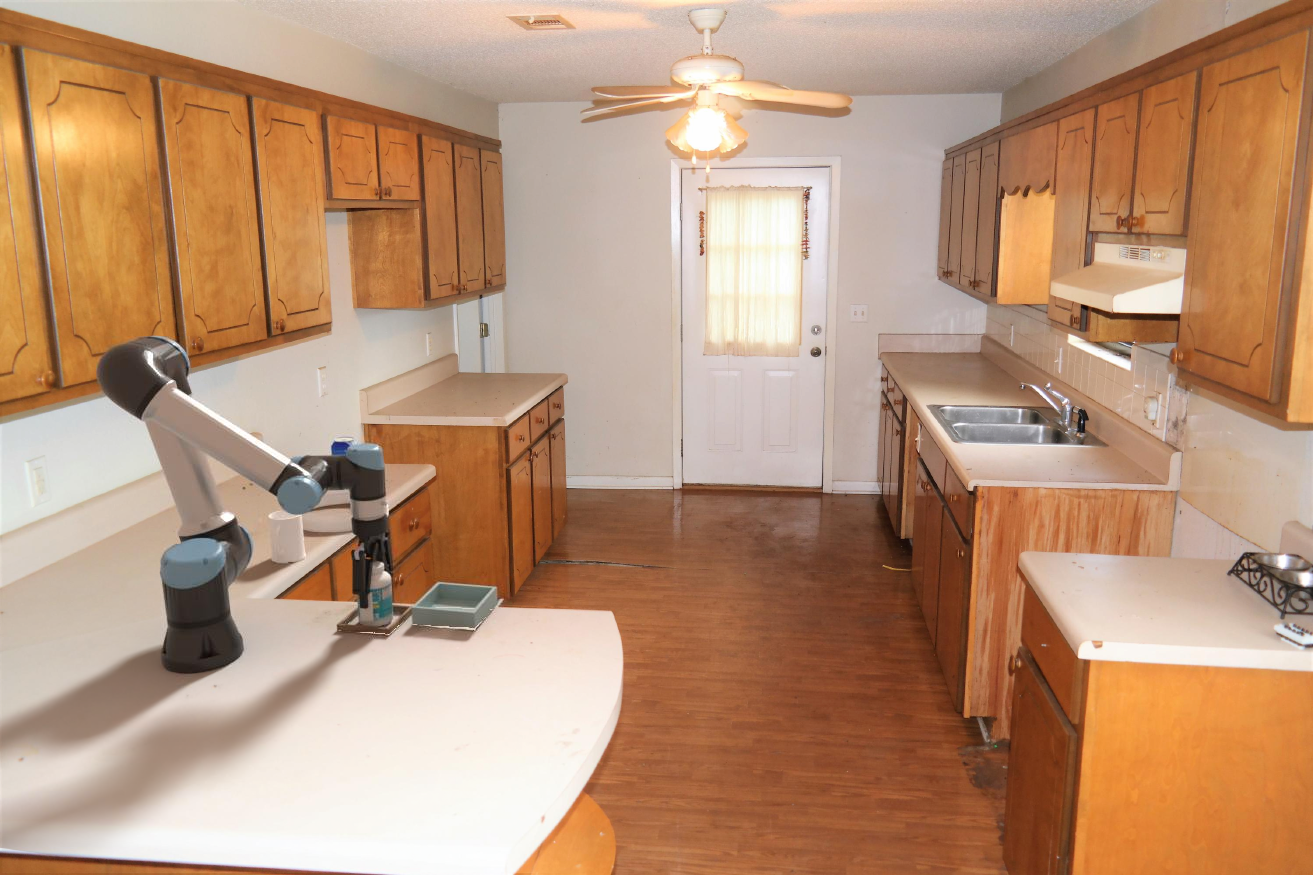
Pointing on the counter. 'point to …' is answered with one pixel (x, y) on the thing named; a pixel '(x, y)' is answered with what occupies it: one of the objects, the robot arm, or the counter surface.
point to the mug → (286, 537)
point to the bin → (454, 605)
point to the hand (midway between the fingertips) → (375, 612)
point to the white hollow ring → (330, 520)
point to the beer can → (342, 445)
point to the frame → (345, 626)
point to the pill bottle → (379, 597)
